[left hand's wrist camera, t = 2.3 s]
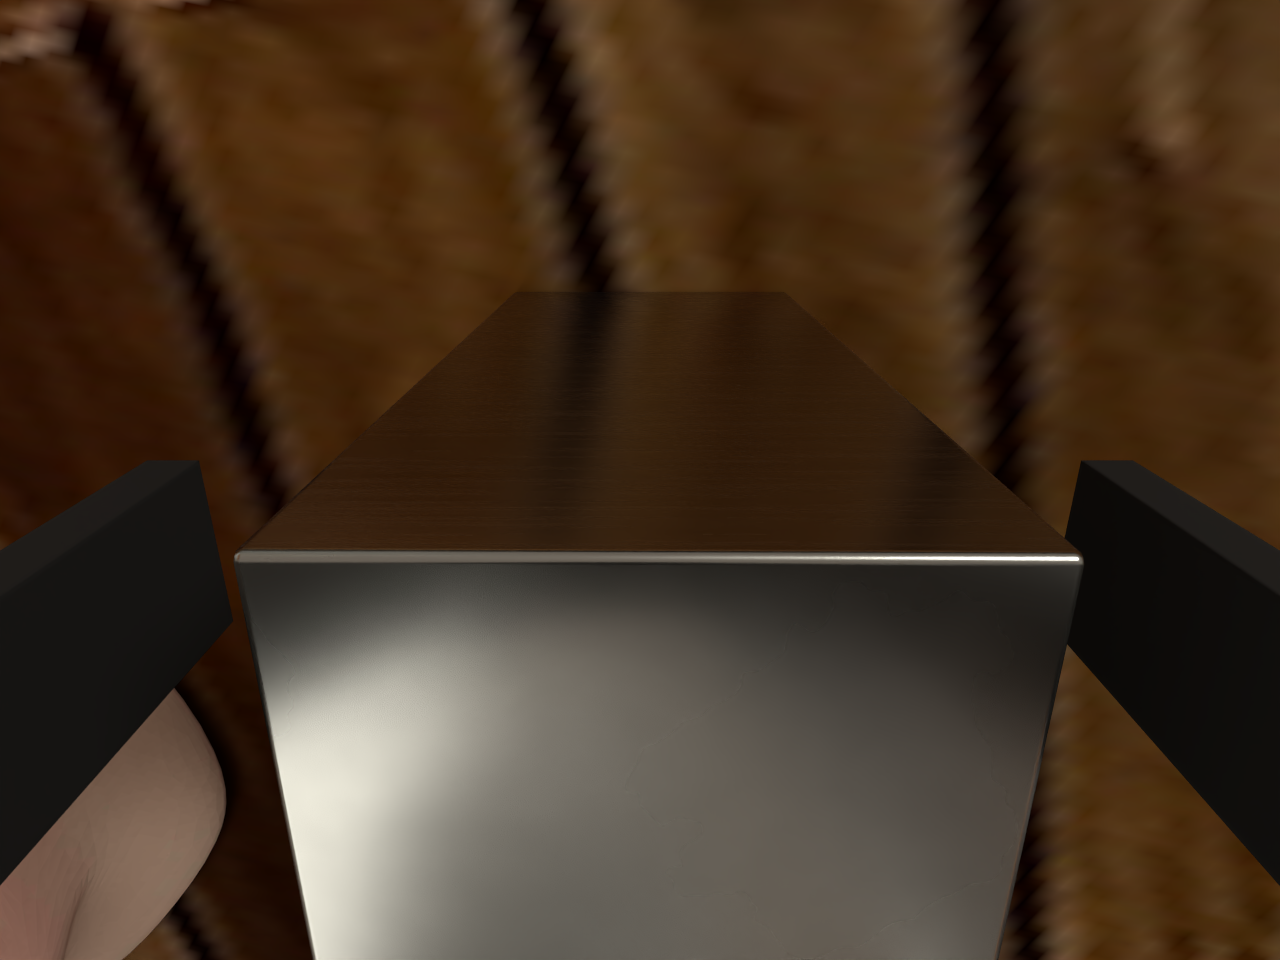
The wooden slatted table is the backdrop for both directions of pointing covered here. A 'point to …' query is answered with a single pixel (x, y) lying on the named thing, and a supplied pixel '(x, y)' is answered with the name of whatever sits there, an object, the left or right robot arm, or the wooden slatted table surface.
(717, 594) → the box
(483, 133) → the wooden slatted table surface
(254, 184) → the wooden slatted table surface
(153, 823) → the anatomical model
